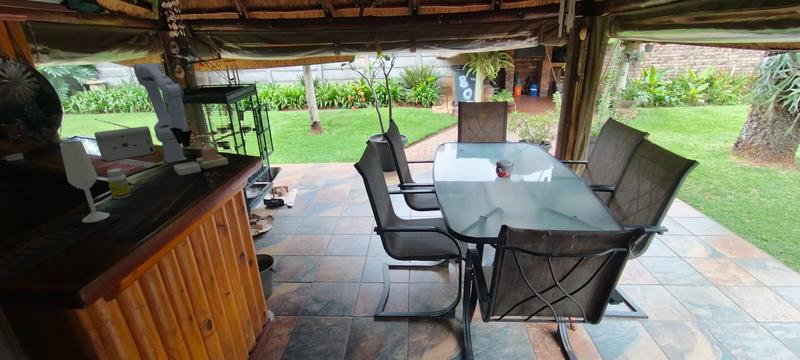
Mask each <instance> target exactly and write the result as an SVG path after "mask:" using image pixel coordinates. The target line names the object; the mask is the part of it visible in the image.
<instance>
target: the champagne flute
mask: <svg viewBox="0 0 800 360" xmlns="http://www.w3.org/2000/svg"><path fill="white" fill-rule="evenodd" d="M59 145H60V152H61V156H62V160H63V165H64V170H65V174H66V179H67V182H68V183H69V184H70V185H72V186H74V187H76V188H77V189H81V190H83V191H84V194H85V196H86V199H87V202H88V205H89V208H90V211H91V212H90V213H89V214H87V216H85V217H84V218H82V220H81V222H83V223H95V222H99V221H102V220H105V219H107V218H108V217H110V213H109V212H103V211H97V209H96V206H95V202H94V200H93V197H92V194H91V190H90V188H92V187H93V185H94V184H95V183H96V181H97V179H98V174H97V172H96V170H95V167H94V165H93V163H92V161H91V159H90V156H89V155H88V152H87V151H86V148H85V146H84V143H83V142H82V140H70V141H63V142H61V143H59Z"/></svg>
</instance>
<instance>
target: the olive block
mask: <svg viewBox="0 0 800 360" xmlns="http://www.w3.org/2000/svg"><path fill="white" fill-rule="evenodd" d="M218 158H219V159H216V160H211V161H205V160H203V158H202V157H198V158H195V162H196V163H197V164H199V165H200V168H203V169H210V168H215V167H221V166H225V165H229V160H228V158H227V157H225V156H223V155H221V154H219V153H218Z"/></svg>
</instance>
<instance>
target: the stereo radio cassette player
mask: <svg viewBox="0 0 800 360" xmlns="http://www.w3.org/2000/svg"><path fill="white" fill-rule="evenodd" d="M94 120H96V121H98V118H94ZM99 121H101V122H104V123H107V124H111V125H114V126H118V127H123V128H120V129H112V130H103V131H95V132H94V137H95V141H96V144H97V148H98V150H99V154H100V157H101V158H102V160H104V161H105V162H108V163H109V162H111V161H119V160H124V159H130V158H135V157H136V158H137V157H141V156H142V157H143V156H149V155H154V154H155V152H156V150H155V145H154V144H155V143H154V142H153V141H154V140H153V137H152V132H151V129H150V127H149V126H147V125H145V126H136V127H130V126H129V127H128V126H125V125H121V124H117V123H113V122H109V121H106V120H101V119H99Z"/></svg>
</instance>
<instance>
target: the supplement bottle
mask: <svg viewBox="0 0 800 360" xmlns="http://www.w3.org/2000/svg"><path fill="white" fill-rule="evenodd" d="M106 172H107V176H108V177H107V178H106V182H107V185H108V186H109V190H110V193H111V196H112V198H114V199H116V200H117V199H124V198H127V197H129V196H131V195H132V191H131V189H130V185H129V182H128V178H127V176H126V175H125V174H124V173H123V170H122V168H119V167H118V168H111V169H108V170H107V171H106Z"/></svg>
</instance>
